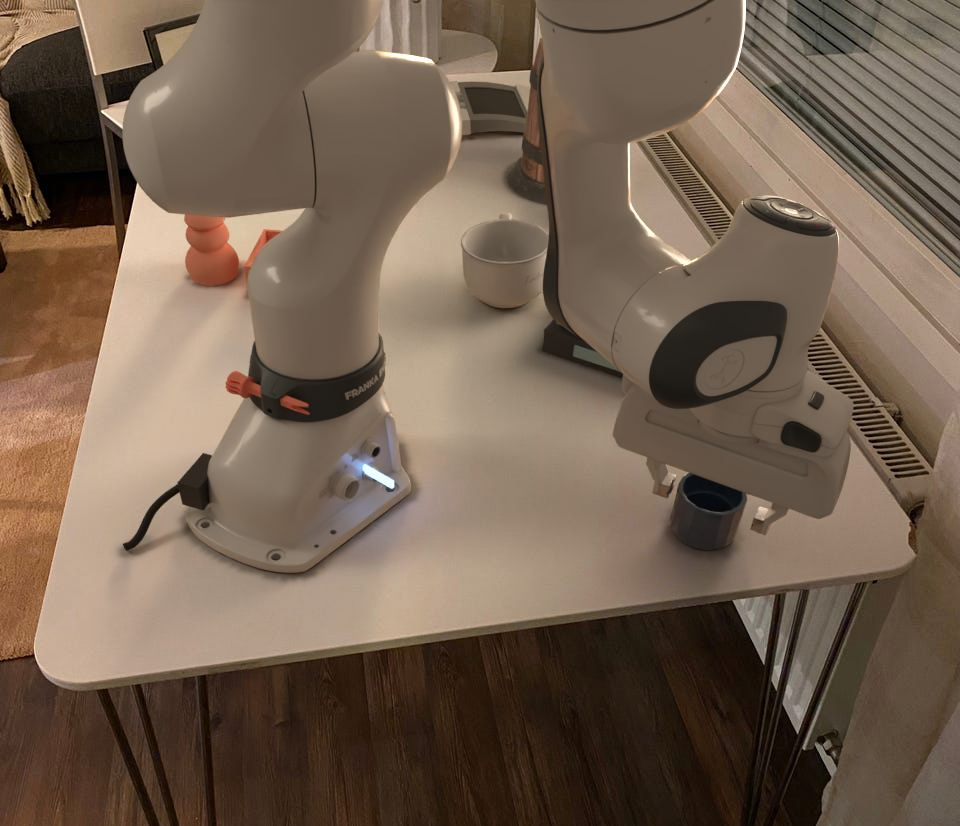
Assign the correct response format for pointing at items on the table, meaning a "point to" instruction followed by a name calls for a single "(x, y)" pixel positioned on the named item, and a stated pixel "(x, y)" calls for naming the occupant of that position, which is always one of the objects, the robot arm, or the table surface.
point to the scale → (574, 349)
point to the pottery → (215, 251)
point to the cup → (706, 512)
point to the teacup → (504, 261)
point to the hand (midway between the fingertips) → (710, 510)
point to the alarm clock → (492, 106)
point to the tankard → (530, 147)
